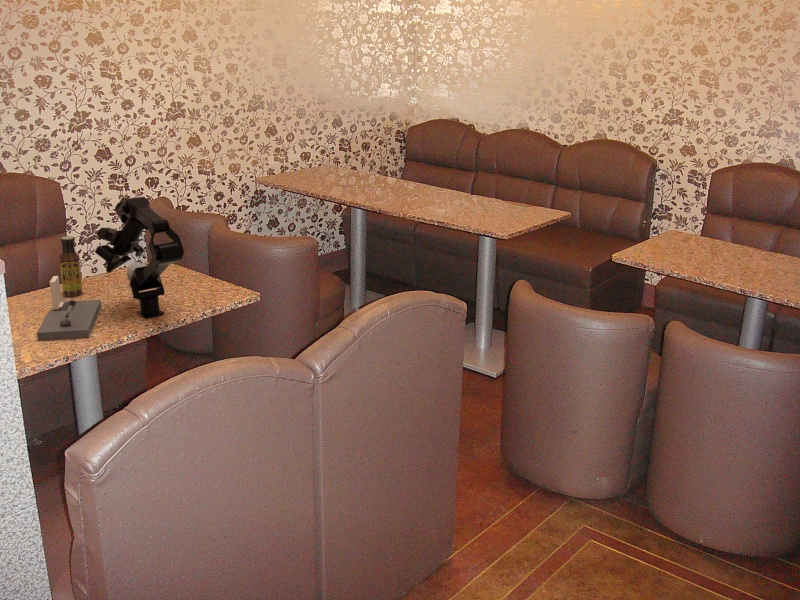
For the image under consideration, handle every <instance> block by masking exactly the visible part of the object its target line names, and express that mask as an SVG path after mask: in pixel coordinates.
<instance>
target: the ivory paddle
mask: <svg viewBox="0 0 800 600" xmlns="http://www.w3.org/2000/svg"><path fill="white" fill-rule="evenodd" d="M49 287H50V295H51V300H52V301H51V302H52V305H51V307H50V309H51V308H52V309H53V310H56V309H59V308H62V307H63V305H64V302H62V301H63V298H62V291H61V285H60V277H59V275H53V276H52V278H51V279H50V281H49Z"/></svg>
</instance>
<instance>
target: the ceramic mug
mask: <svg viewBox="0 0 800 600" xmlns="http://www.w3.org/2000/svg"><path fill="white" fill-rule="evenodd" d="M147 265H148V264H145V263H142V262H141V261H134V262H132V263H131V264H130V265H129V266H128V268H127V271H126V278H127V279H128V281H129V282H130V278H131V277H132V274H133V273H132V272H133V271H134V270H135V269H136V268H138V267H144V266H147ZM159 277H160V280H161V281H162V276H161V275H160V276H159Z"/></svg>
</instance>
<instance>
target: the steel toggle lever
mask: <svg viewBox="0 0 800 600" xmlns="http://www.w3.org/2000/svg"><path fill="white" fill-rule="evenodd" d="M68 301H69V307H68V310H67V312H66V315H65V318H68V317H69V315H70V312H71V309H72V307H73V305H75V301H76V300H74V299H69V300H68Z"/></svg>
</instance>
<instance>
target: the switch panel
mask: <svg viewBox="0 0 800 600" xmlns="http://www.w3.org/2000/svg"><path fill="white" fill-rule="evenodd" d="M69 301H70V300H68V301H67V300H65V301H64V300H62V302H64V305H63V307H62V308H59V309H56V310H53V309H52V308H51V307H50V309H49V311H48V312H47V314H46V316H45V318H44V319H43V321H42V323H41V324H40V327H39V328H38V330H37V332H36V337H37V341H38V340H42V341H54V340H55V341H56V340H58V339H59V340H72V339H74V340H75V339H89V338H90V336H91V333H92V330H93V328H94V326H95V323H96V321H97V318H98V316H99V314H100V312H101V309H102V300H101V299H86V300H83V299H82V300H74V301H75V305H73V307H72V309H71V312H70V315H69V317H68V318H65V315H66V312H67V310H68V307H69Z"/></svg>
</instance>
